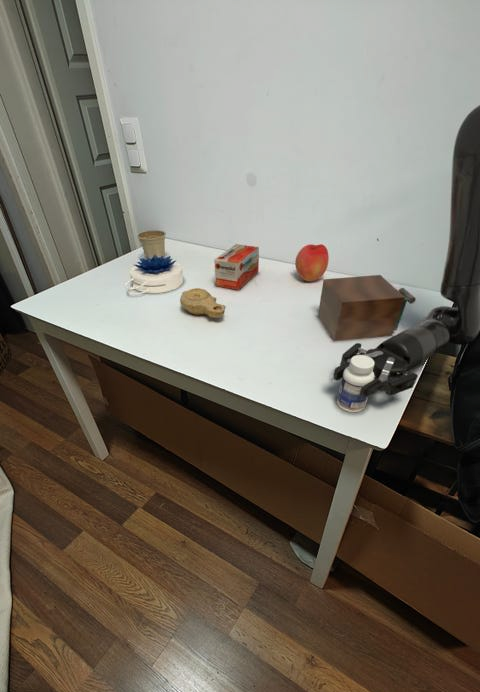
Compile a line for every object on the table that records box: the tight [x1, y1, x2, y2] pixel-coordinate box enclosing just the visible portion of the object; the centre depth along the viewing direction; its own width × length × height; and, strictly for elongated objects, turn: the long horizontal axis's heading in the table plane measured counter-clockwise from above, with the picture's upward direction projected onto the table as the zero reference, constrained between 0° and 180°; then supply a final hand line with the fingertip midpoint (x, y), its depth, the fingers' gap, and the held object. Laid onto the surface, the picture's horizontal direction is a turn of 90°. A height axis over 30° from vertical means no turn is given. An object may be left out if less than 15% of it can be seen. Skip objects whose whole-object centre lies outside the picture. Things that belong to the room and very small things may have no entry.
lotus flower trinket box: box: [124, 255, 184, 295], centre depth 102 cm, size 7×16×20 cm
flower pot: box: [136, 229, 167, 260], centre depth 116 cm, size 9×9×9 cm
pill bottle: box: [336, 355, 375, 413], centre depth 62 cm, size 5×5×10 cm
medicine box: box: [213, 243, 260, 291], centre depth 104 cm, size 15×8×8 cm, turn 155°
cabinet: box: [317, 274, 405, 342], centre depth 83 cm, size 15×13×10 cm
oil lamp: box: [179, 287, 227, 319], centre depth 90 cm, size 11×14×5 cm
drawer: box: [393, 287, 416, 332], centre depth 83 cm, size 18×11×8 cm, turn 99°
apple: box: [294, 243, 330, 282], centre depth 102 cm, size 10×10×10 cm
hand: (348, 384), depth 60 cm, fingers closed on pill bottle, 5 cm apart
